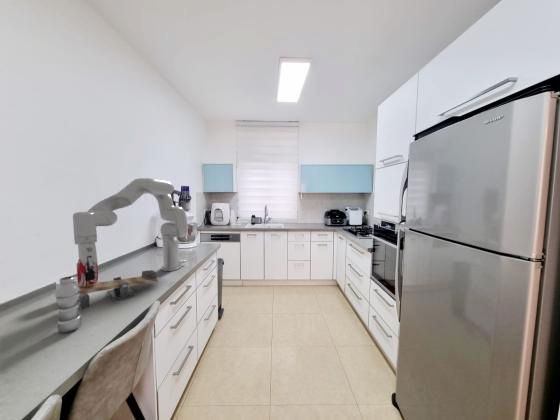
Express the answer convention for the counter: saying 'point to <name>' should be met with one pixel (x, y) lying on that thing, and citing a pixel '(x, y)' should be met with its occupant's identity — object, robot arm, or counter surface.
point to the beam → (99, 286)
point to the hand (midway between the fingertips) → (88, 277)
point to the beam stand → (115, 294)
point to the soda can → (81, 274)
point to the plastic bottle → (68, 305)
